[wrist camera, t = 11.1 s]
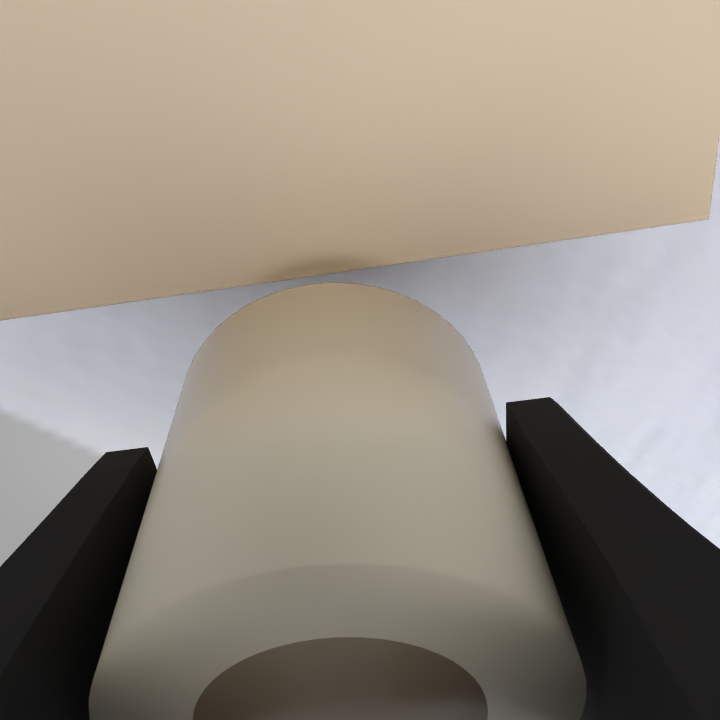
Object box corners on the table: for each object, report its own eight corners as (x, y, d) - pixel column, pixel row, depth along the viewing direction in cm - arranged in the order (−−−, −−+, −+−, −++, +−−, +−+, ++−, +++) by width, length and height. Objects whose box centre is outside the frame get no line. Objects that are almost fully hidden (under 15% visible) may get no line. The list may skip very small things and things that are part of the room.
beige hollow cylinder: (224, 538, 12) (173, 851, 8) (140, 307, 10) (-2, 605, 5) (490, 504, 12) (574, 808, 8) (482, 260, 9) (605, 531, 5)
